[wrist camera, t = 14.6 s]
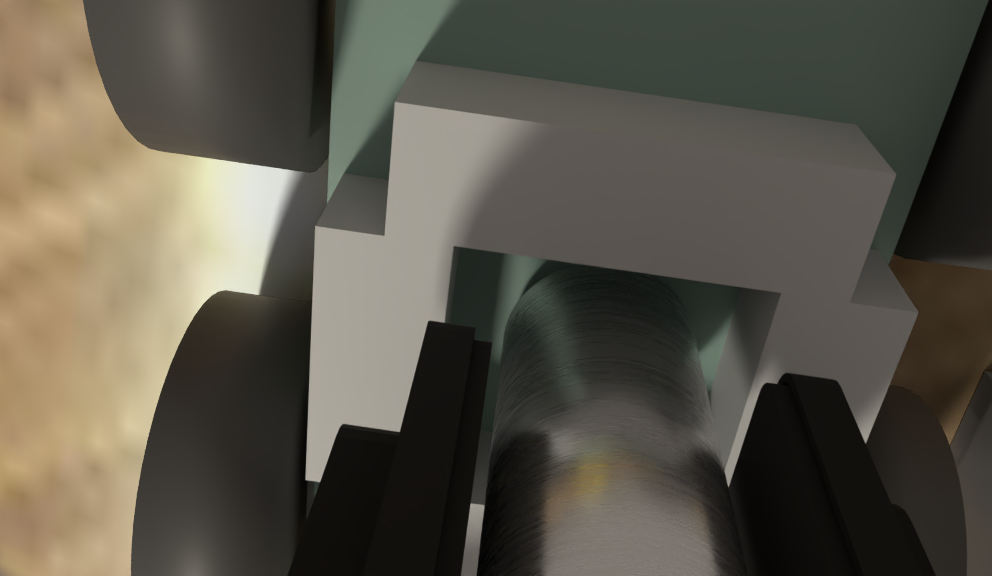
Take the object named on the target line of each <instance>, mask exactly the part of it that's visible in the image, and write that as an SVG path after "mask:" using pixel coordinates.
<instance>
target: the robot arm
mask: <svg viewBox="0 0 992 576" xmlns="http://www.w3.org/2000/svg"><path fill="white" fill-rule="evenodd" d="M475 328H476V327H471V326H464V325H457V324H451V323H444V322H437V321H430V320H429V321H428V324H427V327H426V331H425V335H424V339H423V343H422V347H421V351H420V355H419V358H418V362H417V366H416V370H415V374H414V378H413V382H412V386H411V390H410V394H409V398H408V402H407V405H406V409H405V413H404V417H403V421H402V425H401V429H400V432H396V431H390V430H383V429H376V428H369V427H362V426H355V425H348V424H342V425H341V426H340V428H339V430H338V433H337V435H336V438H335V441H334V443H333V446H332V449H331V452H330V455H329V458H328V461H327V463H326V466H325V469H324V472H323V475H322V478H321V481H320V484H319V486H318V489H317V492H316V495H315V498H314V501H313V504H312V507H311V509H310V512H309V515H308V518H307V521H306V524H305V527H304V529H303V532H302V535H301V538H300V541H299V544H298V547H297V550H296V552H295V555H294V558H293V561H292V564H291V567H290V570H289V573H288V575H287V576H461V571H462V564H463V557H464V549H465V542H466V534H467V527H468V519H469V512H470V505H471V497H472V490H473V482H474V475H475V468H476V460H477V453H478V445H479V438H480V430H481V423H482V416H483V408H484V401H485V393H486V386H487V379H488V371H489V364H490V356H491V349H492V342H486V341H480V340H474V336H475ZM729 493H730V497H731V502H732V506H733V511H734V515H735V520H736V524H737V529H738V534H739V538H740V543H741V547H742V552H743V556H744V561H745V565H746V570H747V574H748V576H936V574H935V572H934V570H933V568H932V566H931V563H930V561H929V559H928V557H927V554H926V552H925V550H924V548H923V546H922V543H921V541H920V539H919V537H918V534H917V532H916V530H915V528H914V526H913V523H912V521H911V519H910V518H909V516H908V514H907V513H906V511H905V510H904V509H903V508H901V507H900V506H898V505H897V504H891V501H890V499H889V497H888V494H887V492H886V490H885V487H884V485H883V483H882V481H881V478H880V476H879V474H878V471H877V469H876V467H875V464H874V462H873V460H872V457H871V455H870V453H869V450H868V448H867V446H866V444H865V441H864V439H863V437H862V434H861V432H860V430H859V427H858V425H857V423H856V420H855V418H854V416H853V413H852V411H851V409H850V407H849V404H848V402H847V400H846V397H845V395H844V393H843V390H842V388H841V386H840V384H839V383H838V381H836V380H834V379H827V378H821V377H814V376H807V375H800V374H793V373H785V374H783V375H782V376H781V378H780V379H779V381H778V383H777V384H774V383H768V382H767V383H765V384H764V385H763V386H762V388H761V390H760V392H759V395H758V398H757V401H756V404H755V408H754V411H753V414H752V417H751V420H750V423H749V426H748V429H747V432H746V435H745V438H744V441H743V444H742V448H741V451H740V454H739V457H738V460H737V463H736V466H735V469H734V472H733V475H732V478H731V481H730V485H729Z"/></svg>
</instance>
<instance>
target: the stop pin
mask: <svg viewBox="0 0 992 576" xmlns="http://www.w3.org/2000/svg"><path fill="white" fill-rule="evenodd" d="M476 576H748V574H747V570H746V565H745V561H744V556H743V552H742V547H741V543H740V538H739V534H738V529H737V524H736V520H735V515H734V511H733V506H732V502H731V497H730V493H729V488H728V484H727V479H726V475H725V470H724V466H723V461H722V457H721V452H720V447H719V443H718V438H717V434H716V429H715V425H714V420H713V416H712V411H711V407H710V402H709V398H708V393H707V389H706V384H705V380H704V375H703V371H702V366H701V361H700V357H699V352H698V348H697V343H696V339H695V334H694V330H693V326H692V323H691V319H690V317H689V315H688V313H687V310H686V309H685V307H684V305H683V304H682V302H681V301H680V299H679V298H678V297H677V296H676V295H675V294H674V293H673V292H672V291H671V290H670V289H669V288H668V287H667V286H666V285H664V284H663V283H662V282H660V281H659V280H657V279H656V278H654V277H653V276H651V275H648V274H646V273H639V272H632V271H625V270H618V269H611V268H604V267H597V266H590V265H577V266H573V267H569V268H565V269H563V270H560V271H558V272H555V273H553V274H551V275H549V276H547V277H545V278H544V279H542V280H540V281H539V282H538V283H536V284H535V285H533V286H532V287H531V288H530V289H529V290H528V291H527V292H526V293H525V294H524V295H523V296H522V297H521V298H520V300H519V301H518V302H517V303H516V305H515V306H514V308H513V310H512V312H511V313H510V316H509V318H508V321H507V323H506V327H505V331H504V337H503V346H502V355H501V364H500V372H499V381H498V390H497V399H496V408H495V417H494V425H493V434H492V443H491V452H490V461H489V470H488V478H487V487H486V496H485V505H484V514H483V522H482V531H481V540H480V549H479V558H478V567H477V575H476Z"/></svg>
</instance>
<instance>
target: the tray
mask: <svg viewBox="0 0 992 576" xmlns="http://www.w3.org/2000/svg"><path fill="white" fill-rule="evenodd" d="M950 448H951V451H952V454H953V457H954V460H955V464H956V468H957V472H958V476H959V480H960V486H961V491H962V497H963V503H964V512H965V522H966V536H967V576H992V372H990V371H984V373H983V376H982V378H981V380H980V382H979V384H978V386H977V389H976V391H975V393H974V395H973V397H972V399H971V402H970V404H969V406H968V408H967V410H966V412H965V415H964V417H963V419H962V421H961V423H960V425H959V428H958V430H957V432H956V434H955V436H954V438H953V441H952V443H951V445H950Z"/></svg>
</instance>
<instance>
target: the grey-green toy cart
mask: <svg viewBox="0 0 992 576" xmlns="http://www.w3.org/2000/svg"><path fill="white" fill-rule="evenodd" d="M83 3H84V9H85V14H86V20H87V25H88V31H89V36H90V40H91V44H92V48H93V51H94V55H95V59H96V63H97V67H98V70H99V72H100V75H101V78H102V81H103V84H104V87H105V90H106V92H107V95H108V97H109V99H110V101H111V103H112V105H113V107H114V110H115V112H116V114H117V115H118V117H119V118H120V120H121V121H122V123H123V124H124V126H125V128H126V129H127V130H128V131H129V132H130V133H131V135H132V136H133V137H134V138H135V139H136V140H137V141H138V142H140V143H141V144H143V145H144V146H146V147H148V148H150V149H154V150H158V151H163V152H170V153H177V154H184V155H191V156H198V157H205V158H212V159H218V160H225V161H232V162H239V163H246V164H253V165H260V166H267V167H274V168H281V169H288V170H295V171H302V172H309V173H310V172H313V171H316V170H317V169H318V168H319V167H321V166H322V164H323V163H324V162H325V160H326V159H327V157H328V155H329V166H328V189H327V205H326V207H325V209H324V211H323V213H322V214H321V216H320V218H319V220H318V222H317V224H316V226H315V244H314V271H313V297H312V303H310V302H303V301H296V300H289V299H282V298H275V297H268V296H261V295H254V294H247V293H240V292H233V291H226V290H225V291H220V292H217V293H216V294H214V295H212V296H211V297H210V298H209V299H208V300H207V301H206V302H205V303H204V304H203V305H202V307H201V308H200V309H199V311H198V312H197V313H196V315H195V316H194V318H193V320H192V321H191V323H190V325H189V326H188V328H187V330H186V332H185V334H184V336H183V338H182V340H181V342H180V344H179V346H178V349H177V351H176V353H175V356H174V358H173V360H172V363H171V365H170V368H169V371H168V374H167V376H166V379H165V382H164V385H163V388H162V391H161V394H160V397H159V400H158V404H157V407H156V410H155V414H154V417H153V421H152V425H151V429H150V433H149V437H148V441H147V445H146V450H145V455H144V459H143V464H142V469H141V475H140V480H139V486H138V492H137V499H136V507H135V515H134V523H133V536H132V553H131V576H287V575H288V573H289V570H290V567H291V564H292V561H293V558H294V555H295V552H296V550H297V547H298V544H299V541H300V538H301V535H302V532H303V529H304V527H305V524H306V521H307V518H308V515H309V512H310V509H311V507H312V504H313V501H314V498H315V495H316V492H317V489H318V486H319V484H320V481H321V478H322V475H323V472H324V469H325V466H326V463H327V461H328V458H329V455H330V452H331V449H332V446H333V443H334V441H335V438H336V435H337V433H338V430H339V428H340V426H341V425H342V424H348V425H355V426H362V427H369V428H376V429H383V430H390V431H396V432H400V429H401V425H402V421H403V417H404V413H405V409H406V405H407V402H408V398H409V394H410V390H411V386H412V382H413V378H414V374H415V370H416V366H417V362H418V358H419V355H420V351H421V347H422V343H423V339H424V335H425V331H426V327H427V324H428V321H429V320H430V321H437V322H444V323H451V324H457V325H464V326H471V327H476V328H475V336H474V340H480V341H486V342H492V349H491V356H490V364H489V371H488V379H487V386H486V393H485V401H484V408H483V416H482V423H481V430H480V438H479V445H478V453H477V460H476V468H475V475H474V482H473V490H472V497H471V505H470V512H469V519H468V527H467V534H466V542H465V549H464V557H463V564H462V571H461V576H476V575H477V567H478V558H479V549H480V540H481V531H482V522H483V514H484V505H485V496H486V487H487V478H488V470H489V461H490V452H491V443H492V434H493V425H494V417H495V408H496V399H497V390H498V381H499V372H500V364H501V355H502V346H503V337H504V331H505V327H506V323H507V321H508V318H509V316H510V313H511V312H512V310H513V308H514V306H515V305H516V303H517V302H518V301H519V300H520V298H521V297H522V296H523V295H524V294H525V293H526V292H527V291H528V290H529V289H530V288H531V287H532V286H533V285H535V284H536V283H538V282H539V281H540V280H542V279H544V278H545V277H547V276H549V275H551V274H553V273H555V272H558V271H560V270H563V269H565V268H569V267H573V266H577V265H590V266H597V267H604V268H611V269H618V270H625V271H632V272H639V273H646V274H648V275H651V276H653V277H654V278H656V279H657V280H659V281H660V282H662V283H663V284H664V285H666V286H667V287H668V288H669V289H670V290H671V291H672V292H673V293H674V294H675V295H676V296H677V297H678V298H679V299H680V301H681V302H682V304H683V305H684V307H685V309H686V310H687V313H688V315H689V317H690V319H691V323H692V326H693V330H694V334H695V339H696V343H697V348H698V352H699V357H700V361H701V366H702V371H703V375H704V380H705V384H706V389H707V393H708V398H709V402H710V407H711V411H712V416H713V420H714V425H715V429H716V434H717V438H718V443H719V447H720V452H721V457H722V461H723V466H724V470H725V475H726V479H727V484H728V488H729V485H730V481H731V478H732V475H733V472H734V469H735V466H736V463H737V460H738V457H739V454H740V451H741V448H742V444H743V441H744V438H745V435H746V432H747V429H748V426H749V423H750V420H751V417H752V414H753V411H754V408H755V404H756V401H757V398H758V395H759V392H760V390H761V388H762V386H763V385H764V384H765V383H767V382H768V383H774V384H777V383H778V381H779V379H780V378H781V376H782V375H783V374H785V373H793V374H800V375H807V376H814V377H821V378H827V379H834V380H836V381H838V383H839V384H840V386H841V388H842V390H843V393H844V395H845V397H846V400H847V402H848V404H849V407H850V409H851V411H852V413H853V416H854V418H855V420H856V423H857V425H858V427H859V430H860V432H861V434H862V437H863V439H864V441H865V444H866V446H867V448H868V450H869V453H870V455H871V457H872V460H873V462H874V464H875V467H876V469H877V471H878V474H879V476H880V478H881V481H882V483H883V485H884V487H885V490H886V492H887V494H888V497H889V499H890V501H891V504H897V505H898V506H900V507H901V508H903V509H904V510H905V511H906V513H907V514H908V516H909V518H910V519H911V521H912V523H913V526H914V528H915V530H916V532H917V534H918V537H919V539H920V541H921V543H922V546H923V548H924V550H925V552H926V554H927V557H928V559H929V561H930V563H931V566H932V568H933V570H934V572H935V574H936V576H967V536H966V522H965V512H964V503H963V497H962V491H961V486H960V480H959V476H958V472H957V468H956V464H955V460H954V457H953V454H952V451H951V448H950V445H949V443H948V440H947V437H946V435H945V433H944V431H943V429H942V427H941V425H940V423H939V421H938V419H937V418H936V416H935V415H934V413H933V412H932V410H931V409H930V407H929V406H928V405H927V404H926V403H925V402H924V401H923V400H922V399H921V397H919V396H918V395H916V394H915V393H913V392H912V391H911V390H908V389H905V388H902V387H898V386H891V385H890V382H891V380H892V377H893V375H894V373H895V370H896V368H897V365H898V363H899V360H900V358H901V355H902V353H903V350H904V348H905V345H906V343H907V340H908V338H909V336H910V333H911V331H912V328H913V326H914V323H915V321H916V318H917V316H918V313H919V312H918V311H917V309H916V308H915V306H914V305H913V303H912V301H911V300H910V298H909V297H908V295H907V294H906V292H905V291H904V289H903V287H902V286H901V284H900V283H899V281H898V280H897V278H896V277H895V275H894V274H893V272H892V270H891V269H890V267H889V264H890V261H891V258H892V256H893V254H895V255H898V256H901V257H903V258H906V259H913V260H920V261H927V262H934V263H941V264H948V265H955V266H962V267H969V268H976V269H983V270H990V271H992V0H83Z"/></svg>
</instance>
